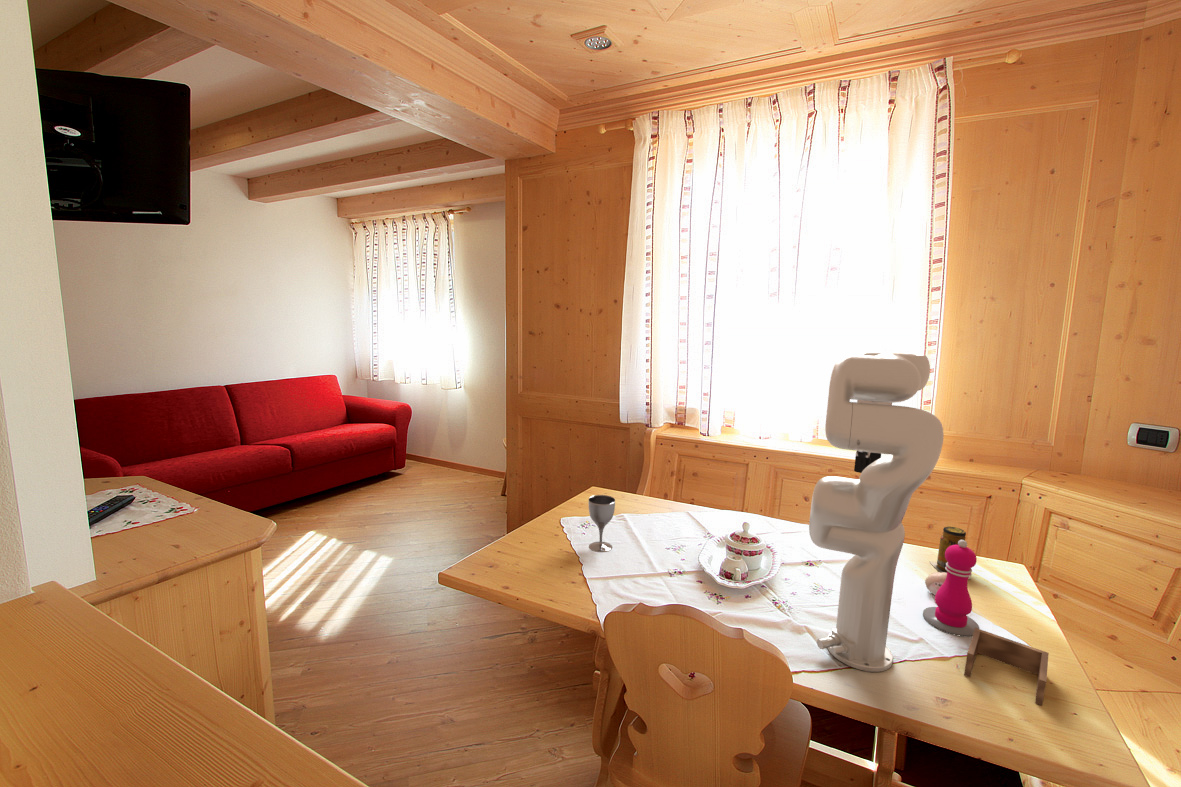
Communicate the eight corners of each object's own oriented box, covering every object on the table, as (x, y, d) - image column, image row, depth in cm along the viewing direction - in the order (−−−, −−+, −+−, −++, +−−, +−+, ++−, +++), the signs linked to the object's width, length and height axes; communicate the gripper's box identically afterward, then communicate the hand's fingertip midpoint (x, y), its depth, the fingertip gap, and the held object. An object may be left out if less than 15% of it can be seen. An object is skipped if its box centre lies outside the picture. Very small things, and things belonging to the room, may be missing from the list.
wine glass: (586, 541, 162) (587, 495, 160) (611, 540, 163) (613, 494, 161) (588, 553, 155) (590, 504, 152) (615, 552, 155) (617, 504, 153)
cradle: (963, 675, 106) (967, 652, 105) (972, 648, 114) (975, 627, 113) (1042, 706, 98) (1046, 681, 97) (1044, 675, 106) (1048, 652, 105)
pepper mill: (960, 613, 126) (973, 535, 123) (975, 631, 119) (989, 549, 116) (927, 609, 128) (939, 531, 124) (939, 626, 121) (952, 544, 118)
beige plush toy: (943, 603, 132) (947, 574, 130) (919, 590, 138) (922, 562, 136) (960, 598, 134) (964, 569, 133) (936, 586, 140) (940, 558, 139)
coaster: (955, 640, 117) (955, 637, 117) (911, 612, 127) (912, 610, 127) (990, 632, 120) (991, 629, 120) (945, 606, 131) (946, 603, 130)
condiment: (956, 565, 152) (962, 526, 150) (972, 579, 144) (978, 538, 142) (929, 562, 154) (934, 523, 152) (942, 576, 145) (948, 535, 143)
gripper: (882, 407, 119) (874, 479, 122) (900, 398, 132) (892, 464, 135) (847, 402, 124) (840, 472, 127) (868, 395, 137) (861, 458, 140)
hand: (867, 468), depth 131 cm, fingers open, 9 cm apart
